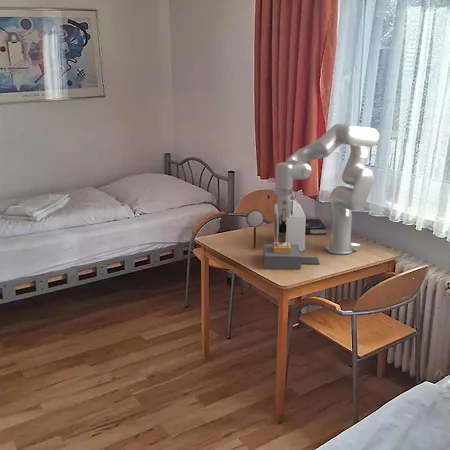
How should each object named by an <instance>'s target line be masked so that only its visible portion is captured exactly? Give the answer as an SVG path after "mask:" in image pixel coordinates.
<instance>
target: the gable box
mask: <svg viewBox="0 0 450 450" xmlns="http://www.w3.org/2000/svg"><path fill="white" fill-rule="evenodd" d="M273 206H274V210H273V212H274V213H273V240H274V241H273V242H278V227H279V215H278V200H277V201H276V203H275V204H274V205H273ZM306 219H307V216H306V214H305V211H304V210H303V208H302V206H301V204H300V203H299V201H298V200H297V198H296V193H295V191H294V189H293V188H292V195H291V196H290V218H288V217H287V223H286V224H287V228H286V242H290V244H298V246H299V250H300V252H305V242H306V241H305V239H306V235H305V225H306Z"/></svg>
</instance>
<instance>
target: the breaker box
mask: <svg viewBox="0 0 450 450" xmlns="http://www.w3.org/2000/svg"><path fill="white" fill-rule="evenodd" d="M262 253H263V256H262V258H263V266H264V267H263V268H264V269H263V270H265V269H266V270H302V269H301V268H302V267H301V265H302V264H301V257H302V254H301V251H300V250H299V246H298V244H290V242H287V247H277V242H275V241H273V243H263V252H262Z"/></svg>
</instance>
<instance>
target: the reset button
mask: <svg viewBox="0 0 450 450" xmlns="http://www.w3.org/2000/svg"><path fill="white" fill-rule="evenodd" d="M277 247H287V242H285V243H279V242H277Z"/></svg>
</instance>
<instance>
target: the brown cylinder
mask: <svg viewBox="0 0 450 450" xmlns="http://www.w3.org/2000/svg"><path fill="white" fill-rule="evenodd" d="M281 217H282V216H281ZM281 220H282V219H281ZM286 223H287V215H286ZM279 224H280V218H279ZM278 242H279V243H285V242H286V233H280V232H279V227H278Z"/></svg>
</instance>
